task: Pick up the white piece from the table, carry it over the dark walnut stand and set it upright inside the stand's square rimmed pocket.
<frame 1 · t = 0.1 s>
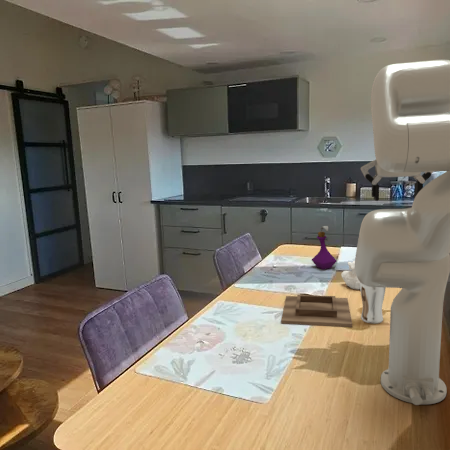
hand: (396, 199, 102), 37 cm above the table, tool pointing down, fingers open, 9 cm apart
white piece: (371, 320, 119), on the table
perfume bottle: (323, 268, 171), on the table
walnut stand: (316, 311, 126), on the table
bust: (356, 288, 145), on the table
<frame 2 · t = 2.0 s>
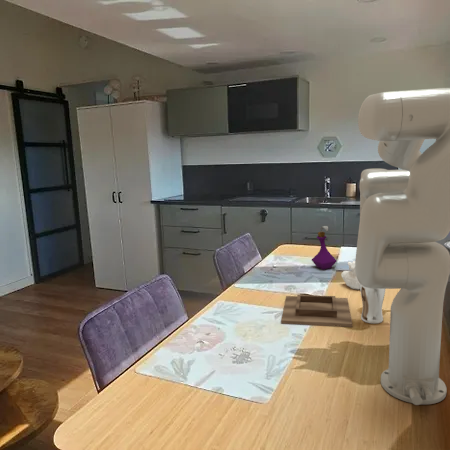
hand: (372, 271, 117), 14 cm above the table, tool pointing down, fingers open, 9 cm apart
nothing on the table moved.
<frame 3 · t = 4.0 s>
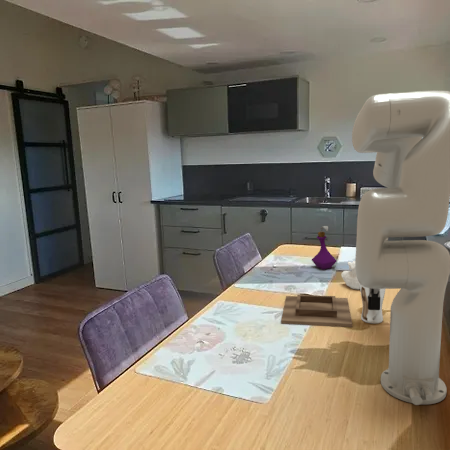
hand: (372, 304, 118), 5 cm above the table, tool pointing down, fingers closed on white piece, 6 cm apart
white piece: (371, 320, 119), on the table, touching gripper
everything else where it was.
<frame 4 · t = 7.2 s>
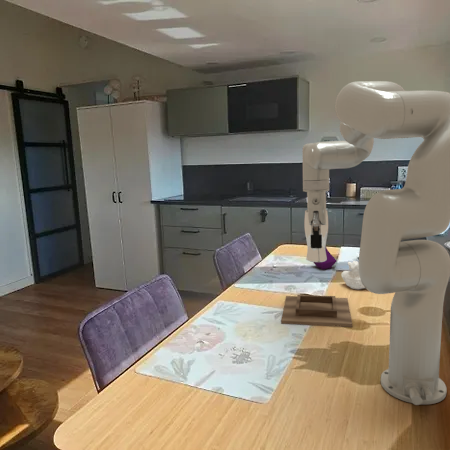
hand: (316, 244, 122), 21 cm above the table, tool pointing down, fingers closed on white piece, 6 cm apart
white piece: (316, 260, 123), point 17 cm above the table, touching gripper
everything else where it was.
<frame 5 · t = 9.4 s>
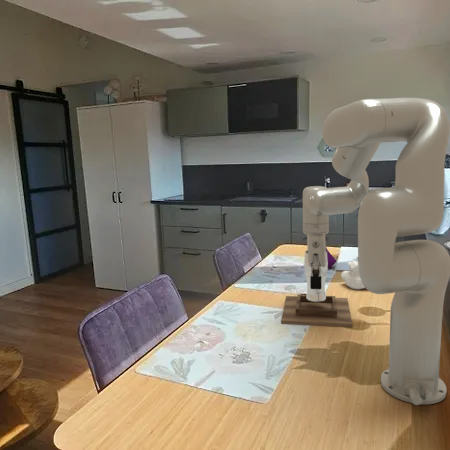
hand: (316, 284, 125), 9 cm above the table, tool pointing down, fingers closed on white piece, 6 cm apart
white piece: (316, 299, 126), point 4 cm above the table, touching gripper
everything else where it was.
when the fingers open (7 cm above the table, at t = 10.8 s): white piece drops 1 cm, resting on walnut stand.
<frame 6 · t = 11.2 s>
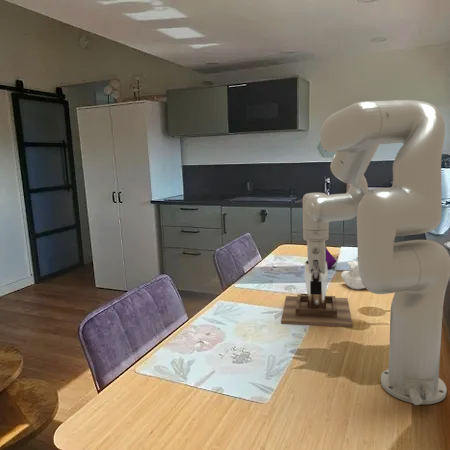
hand: (316, 288, 125), 8 cm above the table, tool pointing down, fingers open, 9 cm apart
white piece: (316, 309, 126), point 1 cm above the table, touching walnut stand
everything else where it was.
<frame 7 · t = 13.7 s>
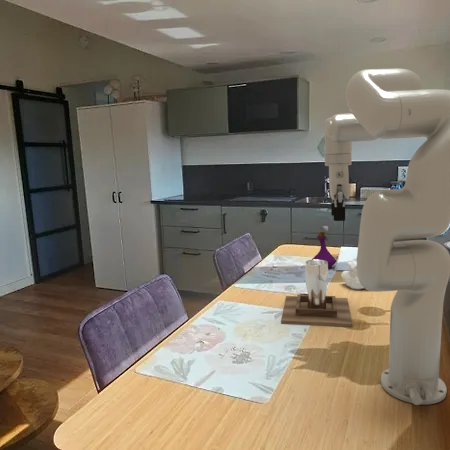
hand: (338, 217, 121), 29 cm above the table, tool pointing down, fingers open, 9 cm apart
nothing on the table moved.
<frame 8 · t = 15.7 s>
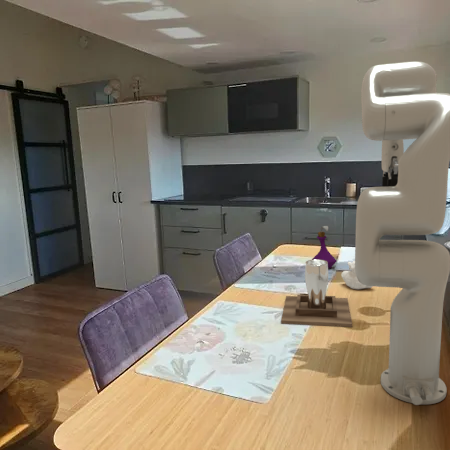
hand: (390, 191, 122), 36 cm above the table, tool pointing down, fingers open, 9 cm apart
nothing on the table moved.
at the end: white piece 0.3 cm off-centre on the walnut stand, point 0.8 cm above the walnut stand's base; white piece tilted 0°; the gripper is holding nothing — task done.
